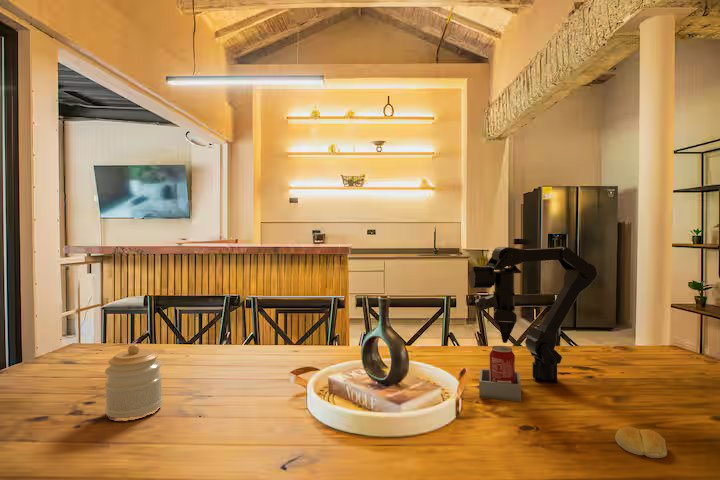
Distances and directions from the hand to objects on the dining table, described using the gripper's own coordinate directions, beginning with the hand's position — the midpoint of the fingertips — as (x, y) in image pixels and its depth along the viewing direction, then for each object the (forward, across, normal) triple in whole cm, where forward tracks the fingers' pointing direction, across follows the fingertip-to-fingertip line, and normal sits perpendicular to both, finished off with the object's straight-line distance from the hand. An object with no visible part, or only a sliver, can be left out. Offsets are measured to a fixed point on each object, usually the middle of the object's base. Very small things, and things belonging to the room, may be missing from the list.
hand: (504, 338), depth 125 cm
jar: (+14, +50, -92) cm, 106 cm away
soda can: (+12, +10, -1) cm, 16 cm away
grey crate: (+13, +10, -2) cm, 16 cm away
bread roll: (+13, +32, +27) cm, 44 cm away
